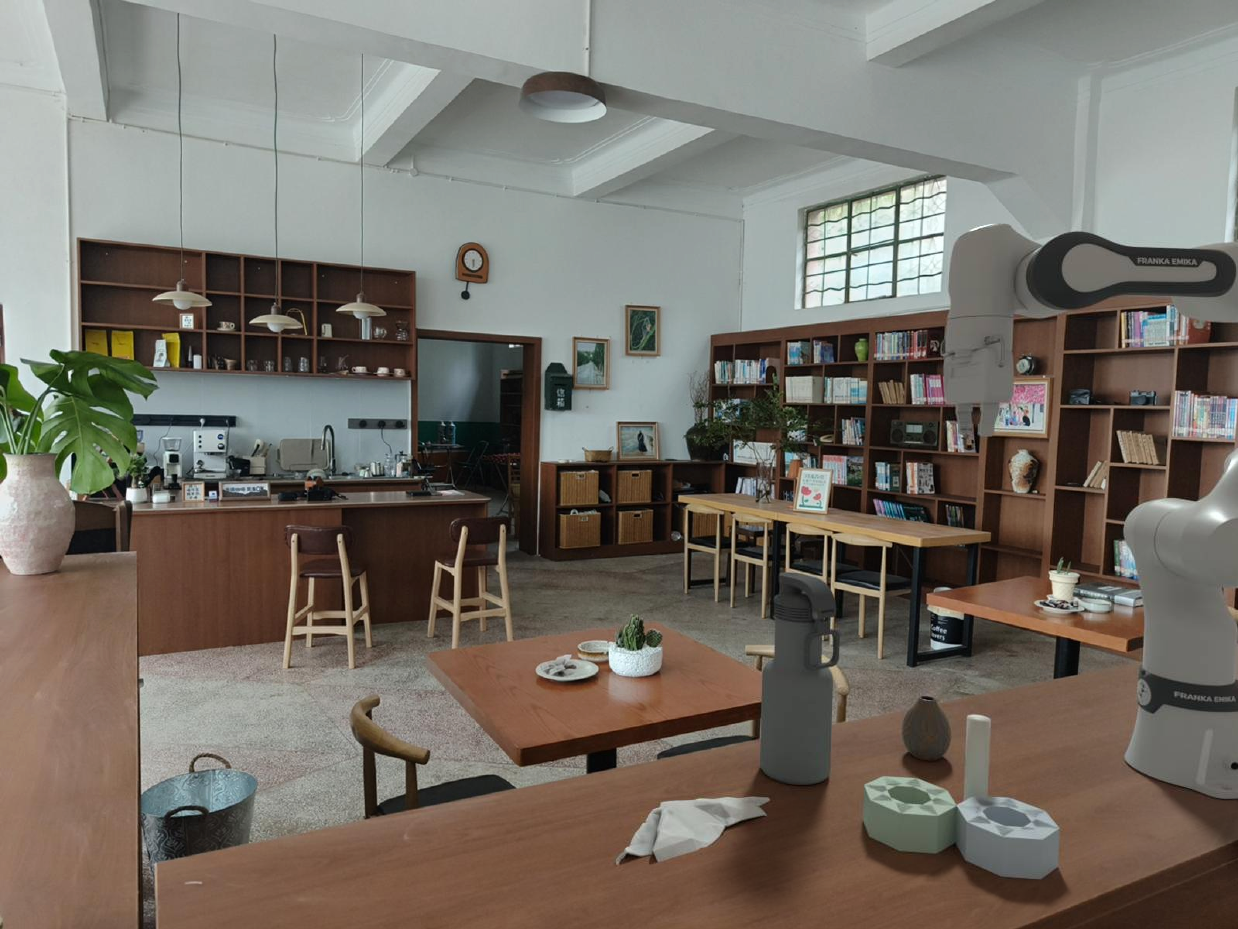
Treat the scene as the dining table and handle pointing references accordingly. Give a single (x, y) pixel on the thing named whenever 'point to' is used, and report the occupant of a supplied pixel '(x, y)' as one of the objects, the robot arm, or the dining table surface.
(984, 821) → the bead
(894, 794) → the bead
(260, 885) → the dining table surface
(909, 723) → the vase
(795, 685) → the water bottle
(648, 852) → the cloth
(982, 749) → the dowel
